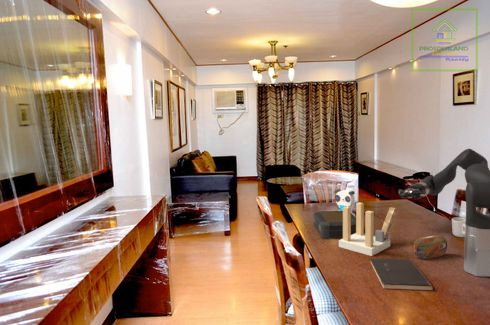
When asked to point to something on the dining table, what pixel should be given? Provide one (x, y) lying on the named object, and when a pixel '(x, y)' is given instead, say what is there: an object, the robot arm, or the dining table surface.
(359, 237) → the stool
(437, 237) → the tin
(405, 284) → the hardcover book
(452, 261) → the dining table surface
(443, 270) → the dining table surface
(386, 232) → the leg
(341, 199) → the panda figurine
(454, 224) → the cup
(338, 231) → the cash box
